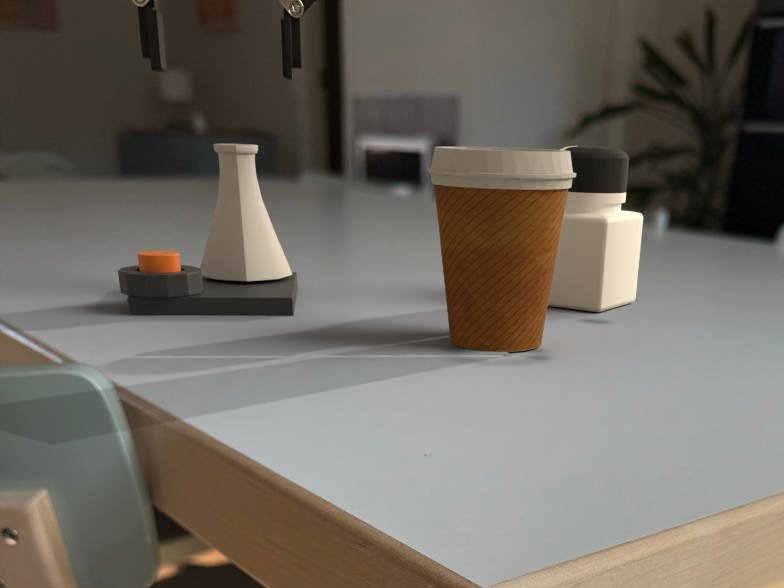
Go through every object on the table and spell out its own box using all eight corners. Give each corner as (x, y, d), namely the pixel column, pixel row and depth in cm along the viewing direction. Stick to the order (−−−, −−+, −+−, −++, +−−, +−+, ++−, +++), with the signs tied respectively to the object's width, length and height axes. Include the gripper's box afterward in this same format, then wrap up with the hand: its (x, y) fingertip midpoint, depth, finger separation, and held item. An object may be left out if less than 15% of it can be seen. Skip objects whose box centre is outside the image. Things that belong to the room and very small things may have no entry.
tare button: (136, 277, 73) (133, 255, 72) (143, 271, 75) (140, 250, 75) (178, 277, 73) (176, 255, 72) (183, 272, 76) (181, 250, 75)
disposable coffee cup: (398, 341, 67) (396, 145, 62) (491, 325, 74) (497, 146, 68) (501, 364, 62) (509, 151, 56) (592, 345, 68) (608, 152, 63)
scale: (118, 317, 73) (112, 274, 71) (148, 287, 85) (143, 250, 84) (293, 318, 74) (291, 276, 73) (297, 288, 87) (295, 252, 85)
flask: (247, 287, 78) (236, 145, 73) (182, 278, 81) (168, 142, 76) (308, 278, 83) (301, 145, 79) (244, 269, 87) (234, 142, 82)
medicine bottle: (636, 302, 85) (651, 147, 79) (599, 313, 80) (613, 147, 74) (563, 294, 88) (573, 144, 83) (523, 303, 83) (531, 144, 77)
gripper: (61, -244, 63) (96, 65, 71) (335, -215, 65) (339, 81, 73) (86, -209, 69) (115, 70, 77) (334, -184, 72) (338, 84, 80)
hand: (224, 75), depth 75 cm, fingers open, 9 cm apart
